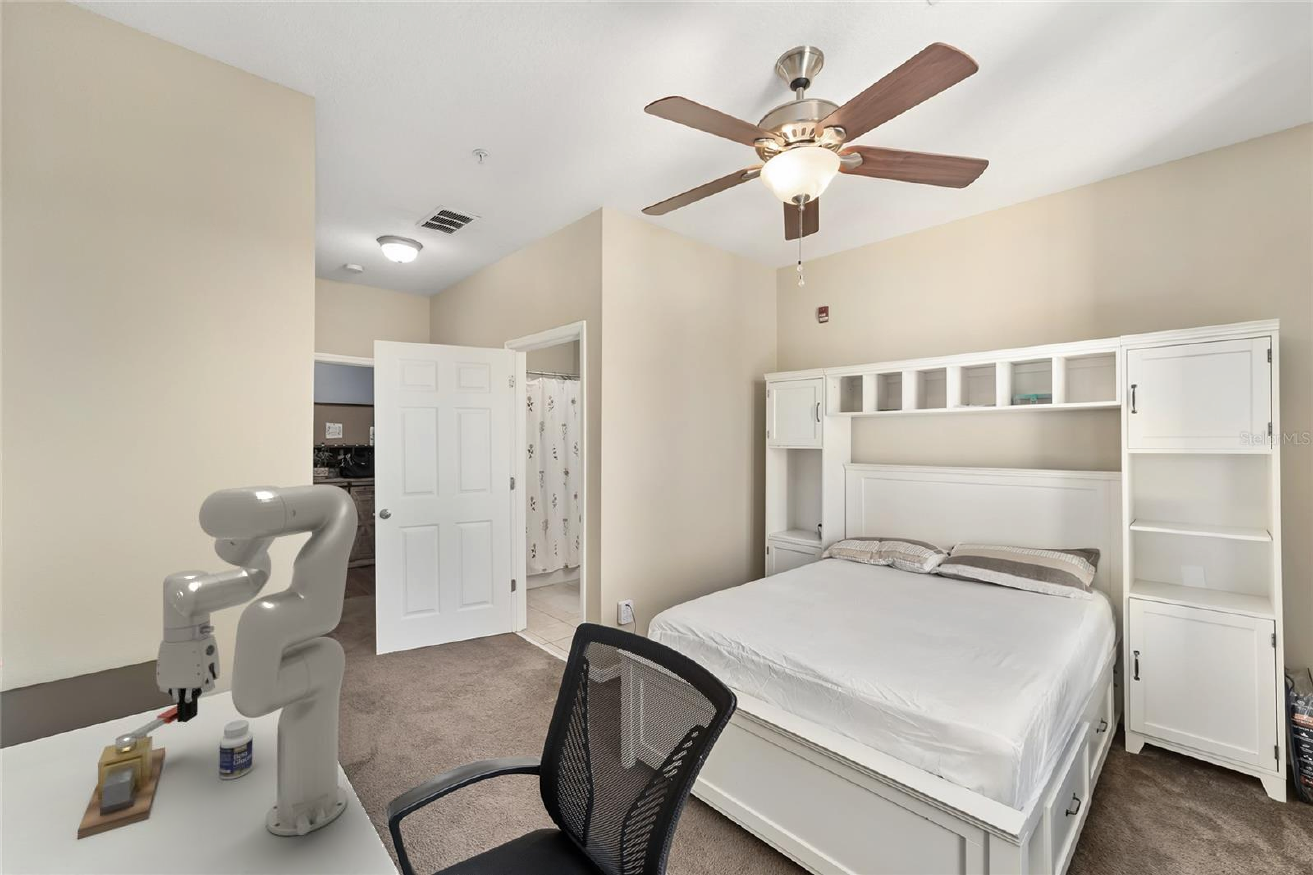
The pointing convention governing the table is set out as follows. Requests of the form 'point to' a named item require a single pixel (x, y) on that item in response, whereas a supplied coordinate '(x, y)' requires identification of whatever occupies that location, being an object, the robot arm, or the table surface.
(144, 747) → the valve
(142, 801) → the mount board
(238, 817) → the table surface
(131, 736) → the lever
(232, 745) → the pill bottle
